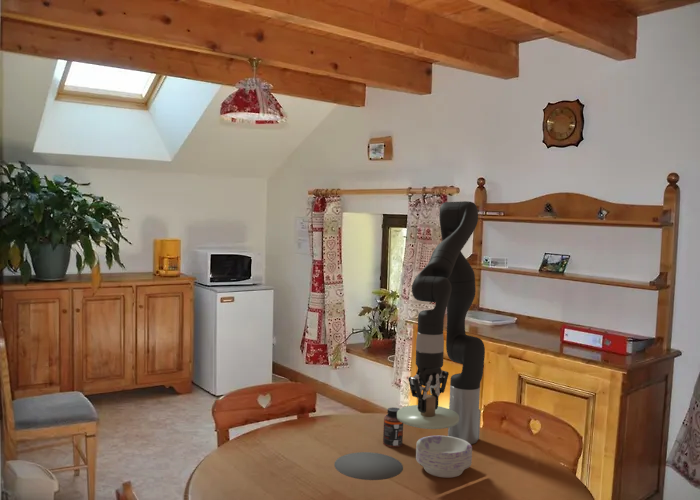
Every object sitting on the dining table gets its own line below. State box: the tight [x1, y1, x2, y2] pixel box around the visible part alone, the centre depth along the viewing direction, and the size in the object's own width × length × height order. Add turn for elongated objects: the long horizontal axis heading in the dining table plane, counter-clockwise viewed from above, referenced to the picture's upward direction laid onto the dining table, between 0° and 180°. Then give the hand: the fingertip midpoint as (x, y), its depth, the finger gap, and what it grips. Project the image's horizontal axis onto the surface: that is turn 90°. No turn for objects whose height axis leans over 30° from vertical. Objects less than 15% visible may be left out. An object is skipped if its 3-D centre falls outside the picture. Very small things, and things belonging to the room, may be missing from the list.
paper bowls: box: [415, 435, 473, 478], centre depth 171 cm, size 15×15×8 cm
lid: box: [397, 394, 459, 430], centre depth 171 cm, size 17×17×6 cm
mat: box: [334, 451, 404, 481], centre depth 172 cm, size 19×19×1 cm
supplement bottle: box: [382, 407, 404, 448], centre depth 189 cm, size 6×6×11 cm
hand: (427, 410), depth 171 cm, fingers closed on lid, 4 cm apart
